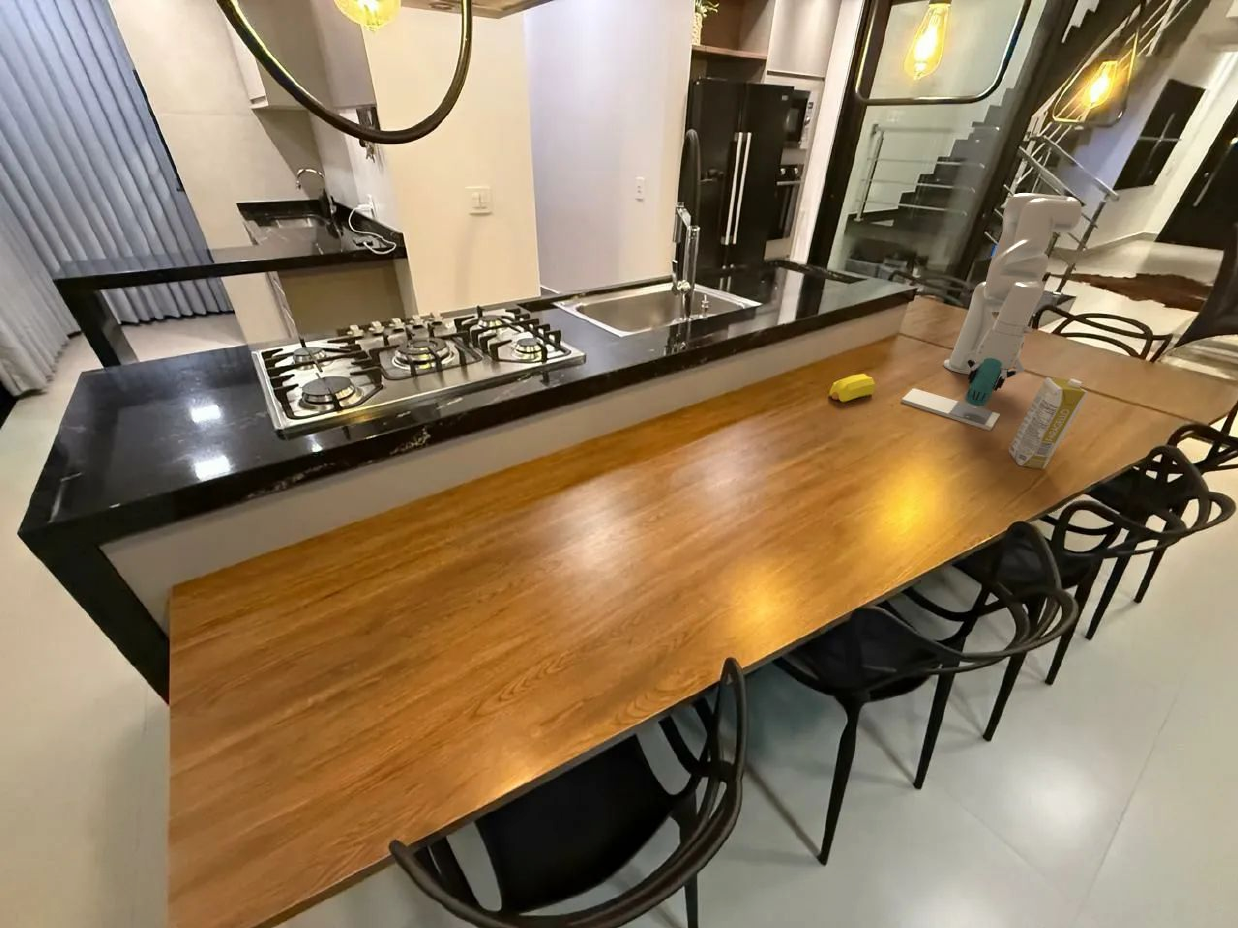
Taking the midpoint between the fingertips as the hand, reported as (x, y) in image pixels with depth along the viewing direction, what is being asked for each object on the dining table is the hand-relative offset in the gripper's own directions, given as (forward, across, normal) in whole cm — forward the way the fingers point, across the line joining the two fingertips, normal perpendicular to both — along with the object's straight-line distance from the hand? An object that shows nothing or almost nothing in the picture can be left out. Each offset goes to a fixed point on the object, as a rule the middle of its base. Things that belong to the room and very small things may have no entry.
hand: (983, 385), depth 163 cm
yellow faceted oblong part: (+11, +33, +13) cm, 37 cm away
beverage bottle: (+7, 0, 0) cm, 7 cm away
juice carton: (+11, -18, +18) cm, 28 cm away
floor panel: (+11, +6, 0) cm, 12 cm away
